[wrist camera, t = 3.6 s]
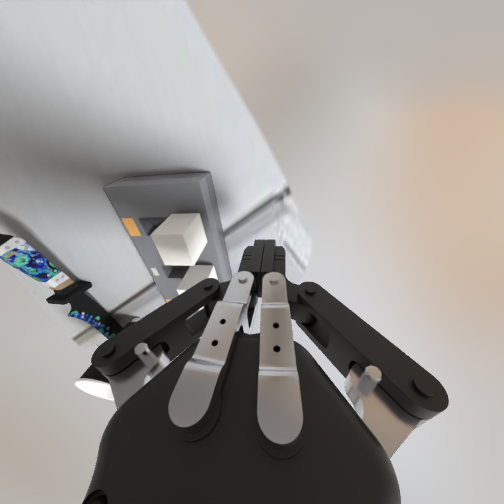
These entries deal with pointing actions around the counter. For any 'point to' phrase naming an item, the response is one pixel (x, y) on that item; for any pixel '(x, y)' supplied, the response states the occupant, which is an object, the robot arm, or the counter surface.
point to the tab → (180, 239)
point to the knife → (57, 284)
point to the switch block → (158, 210)
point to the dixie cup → (98, 379)
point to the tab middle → (196, 276)
